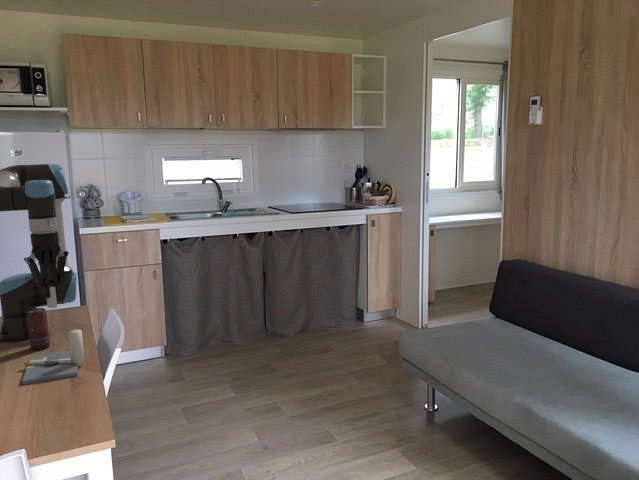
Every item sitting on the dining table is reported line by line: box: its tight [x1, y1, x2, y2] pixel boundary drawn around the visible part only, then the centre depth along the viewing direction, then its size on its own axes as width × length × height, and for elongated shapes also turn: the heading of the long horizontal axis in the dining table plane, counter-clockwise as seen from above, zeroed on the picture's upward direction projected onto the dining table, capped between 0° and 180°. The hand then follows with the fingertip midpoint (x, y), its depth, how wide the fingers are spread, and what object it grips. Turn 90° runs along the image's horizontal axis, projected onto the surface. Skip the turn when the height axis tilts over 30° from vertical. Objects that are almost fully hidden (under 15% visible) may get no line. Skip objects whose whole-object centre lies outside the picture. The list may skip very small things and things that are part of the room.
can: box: [27, 307, 51, 351], centre depth 188 cm, size 6×6×14 cm
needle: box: [23, 329, 86, 365], centre depth 171 cm, size 19×4×10 cm, turn 94°
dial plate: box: [21, 349, 79, 386], centre depth 171 cm, size 22×15×1 cm
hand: (52, 307), depth 164 cm, fingers closed
